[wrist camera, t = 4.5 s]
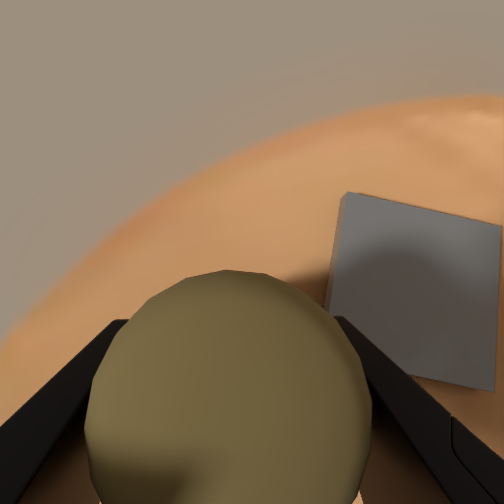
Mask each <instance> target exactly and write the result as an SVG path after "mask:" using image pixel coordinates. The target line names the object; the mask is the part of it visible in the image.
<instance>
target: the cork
mask: <svg viewBox="0 0 504 504" xmlns="http://www.w3.org/2000/svg"><path fill="white" fill-rule="evenodd" d="M84 431H85V439H86V448H87V456H88V464H89V473H90V479H91V481H92V483H93V486H94V488H95V490H96V492H97V494H98V496H99V498H100V501H101V503H102V504H352V503H353V501H354V500H355V498H356V497H357V495H358V491H359V488H360V485H361V481H362V478H363V475H364V472H365V468H366V465H367V462H368V459H369V455H370V452H371V440H372V400H371V396H370V393H369V389H368V386H367V382H366V378H365V375H364V371H363V368H362V364H361V360H360V357H359V355H358V354H357V352H356V351H355V349H354V347H353V346H352V344H351V343H350V341H349V339H348V338H347V336H346V335H345V333H344V331H343V330H342V328H341V327H340V325H339V323H338V322H337V320H336V319H335V318H334V317H333V316H332V315H330V314H329V313H328V312H327V311H326V310H325V309H323V308H322V307H321V306H320V305H319V304H318V303H317V302H315V301H314V300H313V299H312V298H311V297H310V296H309V295H307V294H306V293H305V292H304V291H303V290H301V289H299V288H297V287H295V286H292V285H290V284H288V283H285V282H283V281H281V280H279V279H276V278H274V277H272V276H269V275H267V274H263V273H253V272H243V271H233V270H222V271H218V272H213V273H208V274H203V275H199V276H194V277H189V278H185V279H184V280H182V281H180V282H178V283H177V284H175V285H173V286H171V287H169V288H168V289H166V290H164V291H162V292H161V293H159V294H157V295H155V296H153V297H152V298H150V299H149V300H148V301H147V302H146V303H145V304H144V305H143V306H142V307H141V308H140V309H139V310H138V311H137V312H136V313H135V314H134V315H133V316H132V317H131V318H130V319H129V321H128V322H127V323H126V324H125V325H124V326H123V327H122V328H121V329H120V330H119V331H118V332H117V334H116V335H115V337H114V339H113V341H112V342H111V344H110V346H109V348H108V350H107V352H106V354H105V356H104V358H103V360H102V362H101V364H100V366H99V368H98V370H97V372H96V374H95V376H94V378H93V382H92V387H91V393H90V398H89V404H88V409H87V415H86V420H85V426H84Z"/></svg>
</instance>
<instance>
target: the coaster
mask: <svg viewBox="0 0 504 504" xmlns="http://www.w3.org/2000/svg"><path fill="white" fill-rule="evenodd" d="M500 248H501V226H497V225H493V224H489V223H484V222H480V221H475V220H471V219H467V218H462V217H458V216H454V215H449V214H445V213H440V212H436V211H432V210H427V209H423V208H419V207H414V206H410V205H405V204H401V203H397V202H392V201H388V200H383V199H379V198H375V197H370V196H366V195H362V194H357V193H353V192H348V191H347V193H346V194H345V195H344V196H343V197H342V198H341V202H340V208H339V214H338V220H337V227H336V233H335V239H334V246H333V252H332V258H331V264H330V271H329V277H328V283H327V290H326V296H325V302H324V309H325V310H326V311H327V312H328V313H329V314H330V315H332V316H333V315H341V316H343V317H345V318H346V319H347V320H348V321H349V322H350V323H351V324H353V325H354V326H355V327H356V328H357V329H358V330H359V331H360V332H361V333H362V334H364V335H365V336H366V337H367V338H368V339H369V340H370V341H371V342H372V343H374V344H375V345H376V346H377V347H378V348H379V349H380V350H381V351H382V352H383V353H385V354H386V355H387V356H388V357H389V358H390V359H391V360H392V361H393V362H394V363H396V364H397V365H398V366H399V367H400V368H401V369H402V370H403V371H404V372H405V373H407V374H410V375H414V376H419V377H424V378H428V379H433V380H438V381H442V382H447V383H452V384H456V385H461V386H466V387H470V388H475V389H480V390H484V391H489V392H494V389H495V366H496V342H497V319H498V295H499V272H500Z"/></svg>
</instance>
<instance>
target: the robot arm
mask: <svg viewBox="0 0 504 504" xmlns="http://www.w3.org/2000/svg"><path fill="white" fill-rule="evenodd" d="M333 317H334V318H335V319H336V320H337V322H338V323H339V325H340V327H341V328H342V330H343V331H344V333H345V335H346V336H347V338H348V339H349V341H350V343H351V344H352V346H353V347H354V349H355V351H356V352H357V354H358V355H359V357H360V360H361V364H362V368H363V371H364V375H365V378H366V382H367V386H368V389H369V393H370V396H371V400H372V440H371V452H370V455H369V459H368V462H367V465H366V468H365V472H364V475H363V478H362V481H361V485H360V488H359V491H360V494H361V497H362V501H363V504H504V460H503V459H502V458H501V457H500V456H499V455H497V454H496V453H495V452H494V451H492V450H491V449H490V448H489V447H488V446H487V445H486V444H484V443H483V442H482V441H481V440H480V439H479V438H478V437H476V436H475V435H474V434H473V433H472V432H471V431H470V430H468V429H467V428H466V427H465V426H464V425H463V424H462V423H461V422H460V421H459V420H457V419H456V418H455V417H454V416H452V417H451V414H450V412H448V411H447V410H446V409H445V408H444V407H443V406H442V405H441V404H440V403H439V402H437V401H436V400H435V399H434V398H433V397H432V396H431V395H430V394H429V393H427V392H426V391H425V390H424V389H423V388H422V387H421V386H420V385H419V384H418V383H416V382H415V381H414V380H413V379H412V378H411V377H410V376H409V375H408V374H407V373H405V372H404V371H403V370H402V369H401V368H400V367H399V366H398V365H397V364H396V363H394V362H393V361H392V360H391V359H390V358H389V357H388V356H387V355H386V354H385V353H383V352H382V351H381V350H380V349H379V348H378V347H377V346H376V345H375V344H374V343H372V342H371V341H370V340H369V339H368V338H367V337H366V336H365V335H364V334H362V333H361V332H360V331H359V330H358V329H357V328H356V327H355V326H354V325H353V324H351V323H350V322H349V321H348V320H347V319H346V318H345V317H343V316H341V315H333ZM128 321H129V319H116V320H114V321H112V322H111V323H110V324H109V325H108V326H107V327H106V328H105V329H104V330H102V331H101V332H100V333H99V334H98V335H97V336H96V337H95V338H94V339H93V340H92V341H91V342H90V343H89V344H88V345H87V346H85V347H84V348H83V349H82V350H81V351H80V352H79V353H78V354H77V355H76V356H75V357H74V358H73V359H72V360H71V361H70V362H68V363H67V364H66V365H65V366H64V367H63V368H62V369H61V370H60V371H59V372H58V373H57V374H56V375H55V376H54V377H53V378H51V379H50V380H49V381H48V382H47V383H46V384H45V385H44V386H43V387H42V388H41V389H40V390H39V391H38V392H37V393H36V394H34V395H33V396H32V397H31V398H30V399H29V400H28V401H27V402H26V403H25V404H24V405H23V406H22V407H21V408H20V409H19V410H17V411H16V412H15V413H14V414H13V415H12V416H11V417H10V418H9V419H8V420H7V421H6V422H5V423H4V424H3V425H2V426H0V504H99V502H100V498H99V496H98V494H97V492H96V490H95V488H94V486H93V483H92V481H91V479H90V473H89V464H88V456H87V448H86V439H85V431H84V426H85V420H86V415H87V409H88V404H89V398H90V393H91V387H92V382H93V378H94V376H95V374H96V372H97V370H98V368H99V366H100V364H101V362H102V360H103V358H104V356H105V354H106V352H107V350H108V348H109V346H110V344H111V342H112V341H113V339H114V337H115V335H116V334H117V332H118V331H119V330H120V329H121V328H122V327H123V326H124V325H125V324H126V323H127V322H128Z"/></svg>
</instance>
